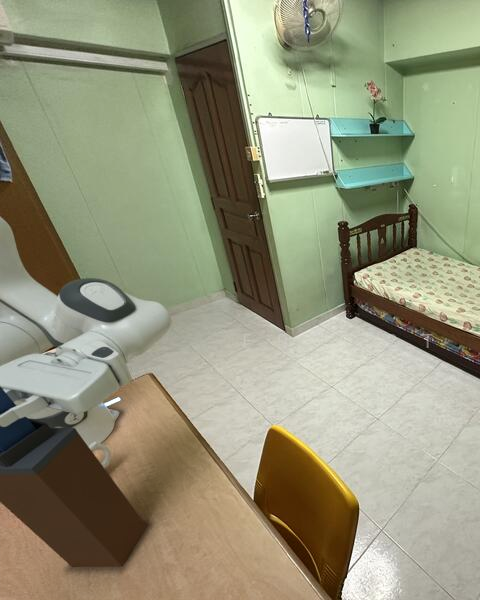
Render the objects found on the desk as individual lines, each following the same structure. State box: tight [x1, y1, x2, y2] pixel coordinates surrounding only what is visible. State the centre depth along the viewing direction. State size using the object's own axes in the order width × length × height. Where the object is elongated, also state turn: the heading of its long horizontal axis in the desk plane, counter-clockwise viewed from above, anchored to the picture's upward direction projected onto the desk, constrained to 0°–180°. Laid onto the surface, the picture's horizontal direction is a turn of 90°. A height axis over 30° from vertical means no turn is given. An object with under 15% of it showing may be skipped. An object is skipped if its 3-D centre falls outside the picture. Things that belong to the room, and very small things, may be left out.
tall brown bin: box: [0, 419, 148, 568], centre depth 57 cm, size 10×7×35 cm
